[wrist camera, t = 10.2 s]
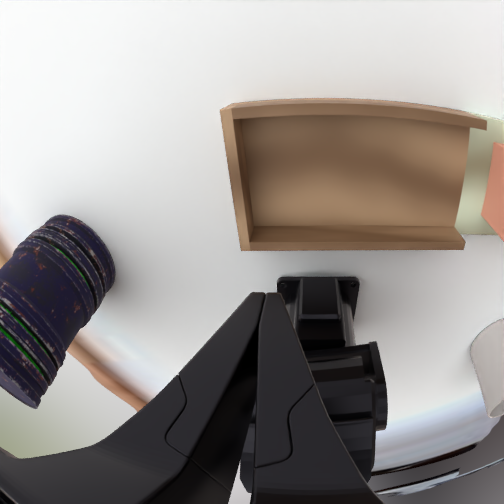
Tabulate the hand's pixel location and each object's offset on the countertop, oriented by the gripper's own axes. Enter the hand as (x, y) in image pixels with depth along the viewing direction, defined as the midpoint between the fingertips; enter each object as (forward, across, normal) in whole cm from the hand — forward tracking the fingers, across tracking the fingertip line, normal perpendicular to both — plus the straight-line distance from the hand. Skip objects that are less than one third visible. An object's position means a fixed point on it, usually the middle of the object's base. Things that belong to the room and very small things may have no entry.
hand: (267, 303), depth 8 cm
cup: (+12, -25, +20) cm, 34 cm away
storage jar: (+12, +21, +7) cm, 25 cm away
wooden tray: (+12, -8, 0) cm, 15 cm away
